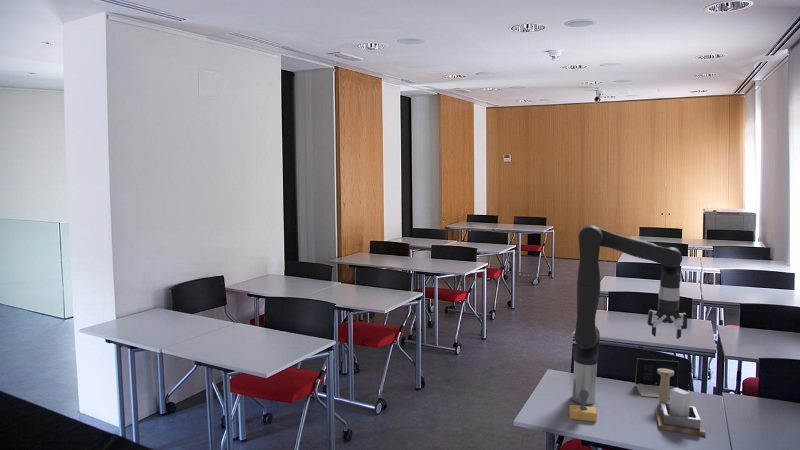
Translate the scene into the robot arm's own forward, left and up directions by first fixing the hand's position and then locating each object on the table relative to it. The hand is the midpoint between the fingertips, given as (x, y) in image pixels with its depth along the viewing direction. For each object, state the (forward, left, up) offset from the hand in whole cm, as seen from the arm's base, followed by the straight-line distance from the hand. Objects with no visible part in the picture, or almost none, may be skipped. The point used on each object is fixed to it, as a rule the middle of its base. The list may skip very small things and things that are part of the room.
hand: (665, 337), depth 232 cm
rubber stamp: (-30, -15, -32) cm, 47 cm away
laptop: (+2, +22, -33) cm, 40 cm away
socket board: (+6, -8, -32) cm, 34 cm away
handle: (+2, +9, -32) cm, 34 cm away
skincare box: (+6, -8, -31) cm, 32 cm away
